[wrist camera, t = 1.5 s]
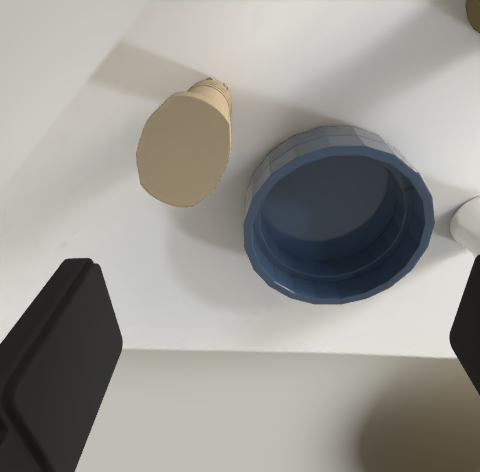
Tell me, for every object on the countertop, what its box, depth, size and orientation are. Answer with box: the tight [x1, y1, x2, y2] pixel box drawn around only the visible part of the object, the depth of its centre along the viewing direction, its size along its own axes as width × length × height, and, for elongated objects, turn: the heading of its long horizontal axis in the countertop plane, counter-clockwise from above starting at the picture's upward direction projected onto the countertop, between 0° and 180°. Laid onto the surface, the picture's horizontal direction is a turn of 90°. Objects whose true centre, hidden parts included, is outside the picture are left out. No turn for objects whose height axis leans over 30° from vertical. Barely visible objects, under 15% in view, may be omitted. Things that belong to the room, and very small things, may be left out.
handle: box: [136, 78, 231, 207], centre depth 27 cm, size 5×6×15 cm
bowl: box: [244, 126, 435, 304], centre depth 36 cm, size 17×17×6 cm
